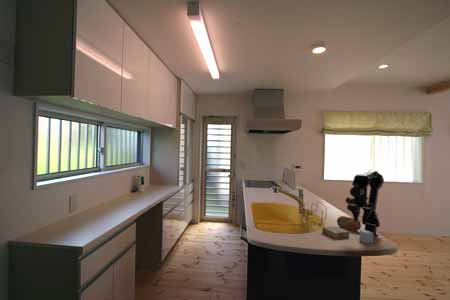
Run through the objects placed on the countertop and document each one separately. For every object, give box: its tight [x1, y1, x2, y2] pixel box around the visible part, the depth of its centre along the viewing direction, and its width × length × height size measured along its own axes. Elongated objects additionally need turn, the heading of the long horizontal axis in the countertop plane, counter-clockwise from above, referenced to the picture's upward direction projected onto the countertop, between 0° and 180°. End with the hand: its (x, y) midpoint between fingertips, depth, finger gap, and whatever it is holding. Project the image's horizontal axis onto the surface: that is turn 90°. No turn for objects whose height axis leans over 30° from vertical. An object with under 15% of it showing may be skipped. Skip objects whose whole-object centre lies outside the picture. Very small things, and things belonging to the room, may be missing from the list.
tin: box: [336, 215, 362, 232], centre depth 164 cm, size 15×3×8 cm, turn 45°
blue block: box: [359, 229, 374, 244], centre depth 141 cm, size 5×5×6 cm
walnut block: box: [321, 225, 350, 240], centre depth 151 cm, size 11×11×4 cm
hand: (360, 220), depth 143 cm, fingers open, 9 cm apart
